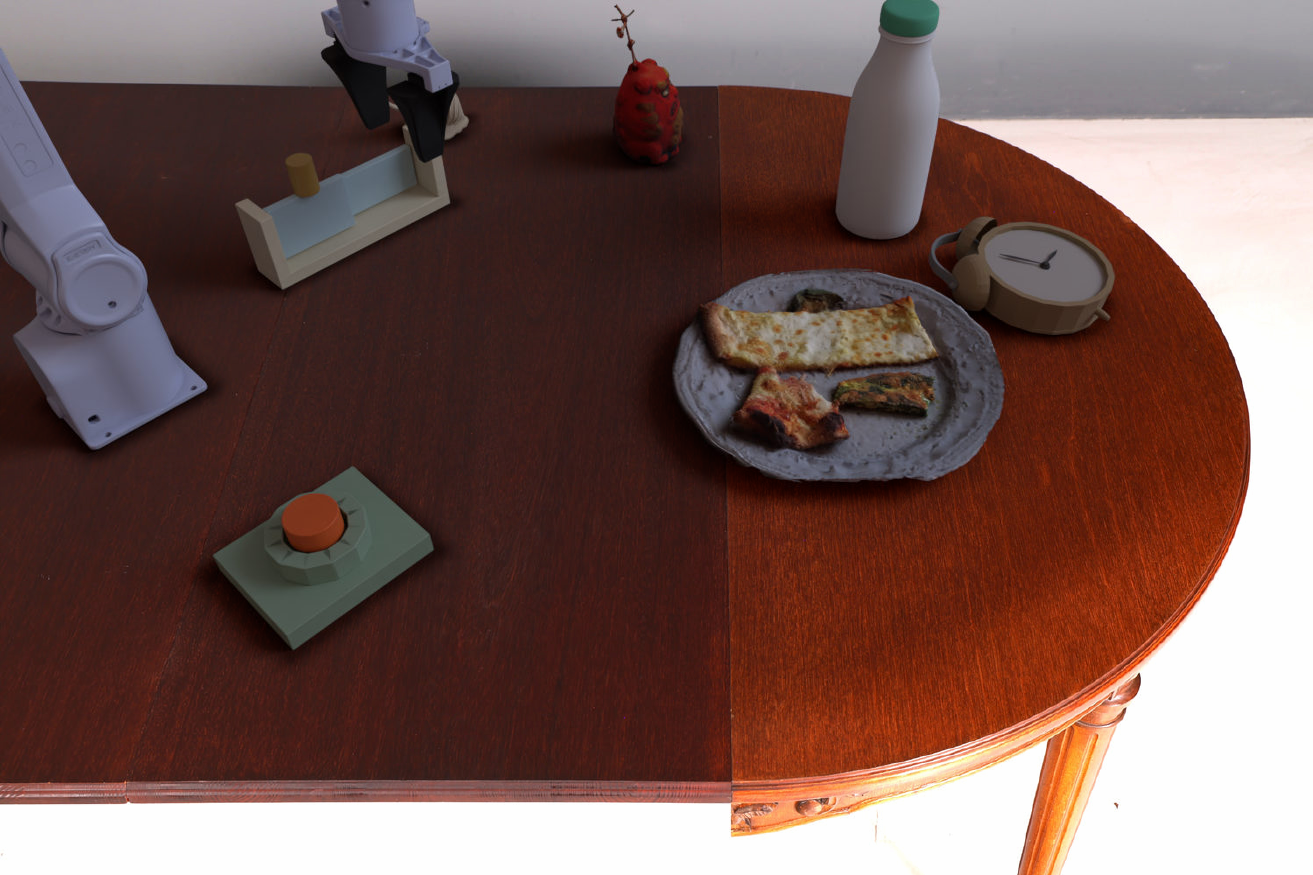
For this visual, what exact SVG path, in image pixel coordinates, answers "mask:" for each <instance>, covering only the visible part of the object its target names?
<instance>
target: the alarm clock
mask: <svg viewBox="0 0 1313 875" xmlns="http://www.w3.org/2000/svg"><path fill="white" fill-rule="evenodd" d="M955 242H956V243H955ZM952 243H955V257H956V260H957V263H955V265H954V266H953V269H952V271H951V272H950V271H949V270H948V269H947V268H945V267H944V266H943V265H942V264H941V263H940V262H939V261H938V258H937V257H936V250H937V249H939V248H940V247H942V246H944V245H947V244H952ZM928 264H929V267H930V269H931V271H932V272H933V273H934V274H935V276H937V277H938V278H939V279H941V280H942V281H943V282H944V283H946V284H947V286H948V288H949V289H950V291H951V294H952V297H953V299H954V301H955V302H956V304H957V305H958V306H961V308H963V309H964V310H966V311H970V312H979V311H982V309H984V310H985V311H986V312H988V313H989V315H991V316H993V317H994V318H996V319H998V320H1000V321H1002V322H1004V323H1005V324H1007V325H1009V326H1012V327H1015V328H1018V329H1021V330H1024V331H1028V332H1029V333H1035V334H1042V335H1050V336H1057V335H1068V334H1075V333H1078V332H1080V331H1082V330H1084V329H1087V328H1089V327H1090V326H1091V325H1092V324H1093V323H1094V322H1095V321H1096V320H1097V319H1098V318H1099V319H1101V320H1104V321H1106V322H1108V321H1109V320H1110V319H1111V316H1110V315H1109V314H1108V313H1107V312H1106V311H1105V310H1104V309H1102V308H1103V307H1104V304H1105V303H1106V301H1107V298H1108V297H1109V294H1110V293H1111V292H1112V290H1113V286H1114V283H1115V280H1116V276H1115V272H1114V268H1113V264H1112V263H1111V262H1110V261H1109V259H1108V257H1107V256H1106V255H1105V254H1104V252H1103V250H1101V249H1099V248H1098V247H1097V246H1095V245H1094V244H1093V243H1092V242H1090V241H1089V240H1088V239H1086V238H1084V237H1082V236H1080V235H1078V234H1076V233H1074V232H1072V231H1071V230H1068V229H1064V228H1061V227H1058V226H1055V225H1051V224H1048V223H1040V222H1034V221H1033V222H1032V221H1019V222H1018V221H1017V222H1007V223H1004V224H1001V225H999V226H998V221H997V219H996V218H994V217H990V216H979V217H977V218H974V219H973V220H971V221H970V222H969V223H967V225H966V226H964V228H958V229H957V231H956V232H948V233H945V234H943V235H940V236H938V237H937V238H936V239H935V240H934V241H933V243H932V245H931V248H930V251H929V254H928Z"/></svg>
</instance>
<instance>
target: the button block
mask: <svg viewBox="0 0 1313 875" xmlns="http://www.w3.org/2000/svg"><path fill="white" fill-rule="evenodd" d="M313 493H320V494H325V495H328V496H330V497H332V498H333V499H334V500H335V501H336V502H337V504H338V507H339V510H340V513H341V515H342V518H343V521H344V531H343V534H342V536H341V537H340V539H339V540H338V541H337V542H336V543H335V544H334V545H332V546H331V547H329V548H327V549H325V550H322V551H319V552H312V553H307V552H302V551H299V550H297V549H295V548H294V547H293V546H292V545H291V544H290V542H289V540H288V538H287V535H286V533H285V531H284V528H283V526H282V522H281V518H282V514H283V512H284V510H285V508H286V507H287V506H288V505H289V504H290V503H291V502H292V501H294V500H295V499H297V498H299V497H301V496H304V495H307V494H313ZM434 550H435V549H434V545H433V541H432V537H431V535H430V533H429V532H428V531H427V530H425V529H424V528H423V527H422V526H421V524H419V523H418V522H417V521H415V520H414V519H413V517H411V516H410V515H409V514H408V513H406V512H405V511H404V510H403V509H401V507H400V506H399V505H397V503H395V502H394V501H393V500H392V499H391V498H390V497H388V496H387V495H386V494H385V493H384V492H383V491H382V490H381V489H379V488H378V487H377V486H376V485H375V484H373V482H371V481H370V480H369V478H367V477H366V476H365V475H363V473H361V472H360V471H359V470H358V469H357V468H356V467H354V465H351V466H350V467H349V468H347V469H346V470H344V471H342V472H340V473H339V474H337V475H336V476H334V477H333V478H332V479H329V481H326V482H325V483H323V484H322V485H320V486H319V487H317V488H315V489H313V491H309V492H303V493H300V494H298V495H295V497H292V498H290V500H288V501H286V502H285V503H283V504H281V505H280V506H278V507H277V508H276V509H275V510H274V512H273V513H272V515H271V517H270V518H269V519H267V520H265V521H264V522H262V523H261V524H259V525H257V526H256V527H254V528H253V529H251V530H249V531H248V532H247V533H244V534H243V535H241V536H240V537H239V538H237V539H236V540H234V541H232V542H231V543H229V544H227V545H226V546H224V547H223V548H221V549H220V550H218V551H217V552H215V553H214V554H212V557H213V559H214V562H215V563H216V566H217V567H218V569H219V571H220V573H222V574H223V575H224V576H225V577H226V579H227V580H228V581H229V582H230V583H231V584H232V586H234V588H235V589H237V590H238V592H239V593H240V594H241V595H242V596H243V597H244V598H245V599H246V600H247V602H249V604H250V605H251V606H252V607H253V608H254V609H255V611H257V612H258V614H259V615H260V616H261V617H262V618H263V619H264V620H265V621H266V622H267V623H268V624H269V626H270V627H271V628H272V629H273V630H274V631H275V632H276V633H277V635H278V636H279V637H280V638H281V639H282V640H283V641H284V642H285V643H286V644H287V645H288V646H289V647H290V648H291V650H292V651H294V650H296V649H297V648H299V647H300V646H302V645H303V644H304V643H306V642H307V641H309V640H310V639H311V638H313V637H314V636H316V635H317V634H318V633H320V632H321V631H322V630H324V629H325V628H326V627H328V626H329V625H331V624H332V623H334V622H335V621H336V620H338V619H339V618H341V617H342V616H344V615H345V614H346V613H348V612H349V611H350V610H352V609H353V608H354V607H356V606H358V605H359V604H360V603H361V602H363V601H364V600H366V599H367V598H369V597H370V596H371V595H372V594H374V593H376V592H377V591H378V590H380V589H381V588H382V587H384V586H385V585H387V584H388V583H390V582H391V581H392V580H394V579H395V578H397V577H398V576H399V575H401V574H403V573H404V572H405V571H407V569H409V568H410V567H412V566H414V565H415V564H416V563H417V562H419V561H420V560H422V559H423V558H424V557H426V556H428V554H430V553H432V552H433V551H434Z"/></svg>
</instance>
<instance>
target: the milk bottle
mask: <svg viewBox="0 0 1313 875" xmlns="http://www.w3.org/2000/svg"><path fill="white" fill-rule="evenodd" d="M939 20H940V7H939V5H938V4H937V3H936V2H935V1H933V0H884V2H883V3H882V5H881V8H880V13H879V25H878V28H877V29H878V30H877V31H878V33H879V40H878V43H877V45H876V48H875V50H874V52H873V53H872V56H871V57H870V59H869V61H868V62H867V64H866V65H865V67H864V68H863V70H862V72H861V73H860V75H859V77H858V78H857V81H856V83H855V86H854V88H853V91H852V94H851V97H850V101H849V107H848V108H849V109H848V114H847V119H846V127H845V132H844V141H843V148H842V155H841V163H840V170H839V178H838V179H839V180H838V185H837V194H836V203H835V214H836V218H837V221H838V222H839V223H840V225H841V226H842V227H844V229H846V230H847V231H849V232H851V233H852V234H854V235H857V236H859V237H862V238H865V239H866V238H867V239H873V240H891V239H895V238H900V237H903V236H905V235H906V234H909V233H910V232H911V231H912V230H913V229H914V228H915V227H916V226H917V224H918V223H919V220H920V217H921V212H922V207H923V202H924V197H925V192H926V188H927V182H928V177H929V172H930V166H931V161H932V157H933V150H934V146H935V140H936V135H937V129H938V123H939V118H940V117H939V116H940V109H941V91H940V85H939V79H938V76H937V72H936V69H935V66H934V61H933V54H932V40H933V39H934V38H935V37H936V34H937V28H938V24H939Z"/></svg>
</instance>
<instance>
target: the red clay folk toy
mask: <svg viewBox="0 0 1313 875" xmlns="http://www.w3.org/2000/svg"><path fill="white" fill-rule="evenodd" d="M613 7H614V8H615V9H616V11H617V12H618V13H619V14H620V18H612V19H611V20H610V21H611V22H619V21H620V22H621V23H622V25H621V27H620V26H617V27H616V30H615V33H616V36H617V38H619V39H623V38H624V36H625V32H626V36H627V44H626V47H627V49H628V50H629V51H630V53H631V58H632V62H631V63H630V64H629V65H628V67H627V70H626V73H625V74H624V76H623V78H622V79H621V83H620V86H619V88H618V92H617V94H616V96H615V102H614V115H613V118H612V123H613V125H612V133H613V136H614V143H615V145H616V147H618V148H619V149H621V150H622V151H623V153H624V154H625V155H626V156H627V157H629V158H630V159H631V160H634V161H636V162H637V163H639V164H646V163H647V162H649V163H650V165H654V166H657V165H664V164H665V163H666V162H667V161H668V160H669V159H671V158H674V157H675V156H678V155H679V152H680V147H679V146H680V145H681V143H682V138H683V137H682V132H683V129H684V120H683V119H684V111H683V108H682V107H681V102H680V99H679V92H678V89H677V87H676V86H675V85H674V84H673V83H672V81H671V79H670V73H669V71H668V70H667V68H666V67H664V66H660V65H658V62H657V61H656V59H652V58H650V57H648V58H645V59H643V60H642V61H638V59H637V57H636V54H635V51H634V48H633V46H634V45H635V43H636V40H634V39H632V38H631V36H630V32H629V28H628V24H627V23H628V20H629V19H628V18H629V17H630V16H632V15H633V14H634V12H635V9H632V10H631V12H629V13H628V14H625V13H624V12H623V10H622V9H621V8H620V6H619V5H618V4H617V3H616V4H615V5H613Z"/></svg>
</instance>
